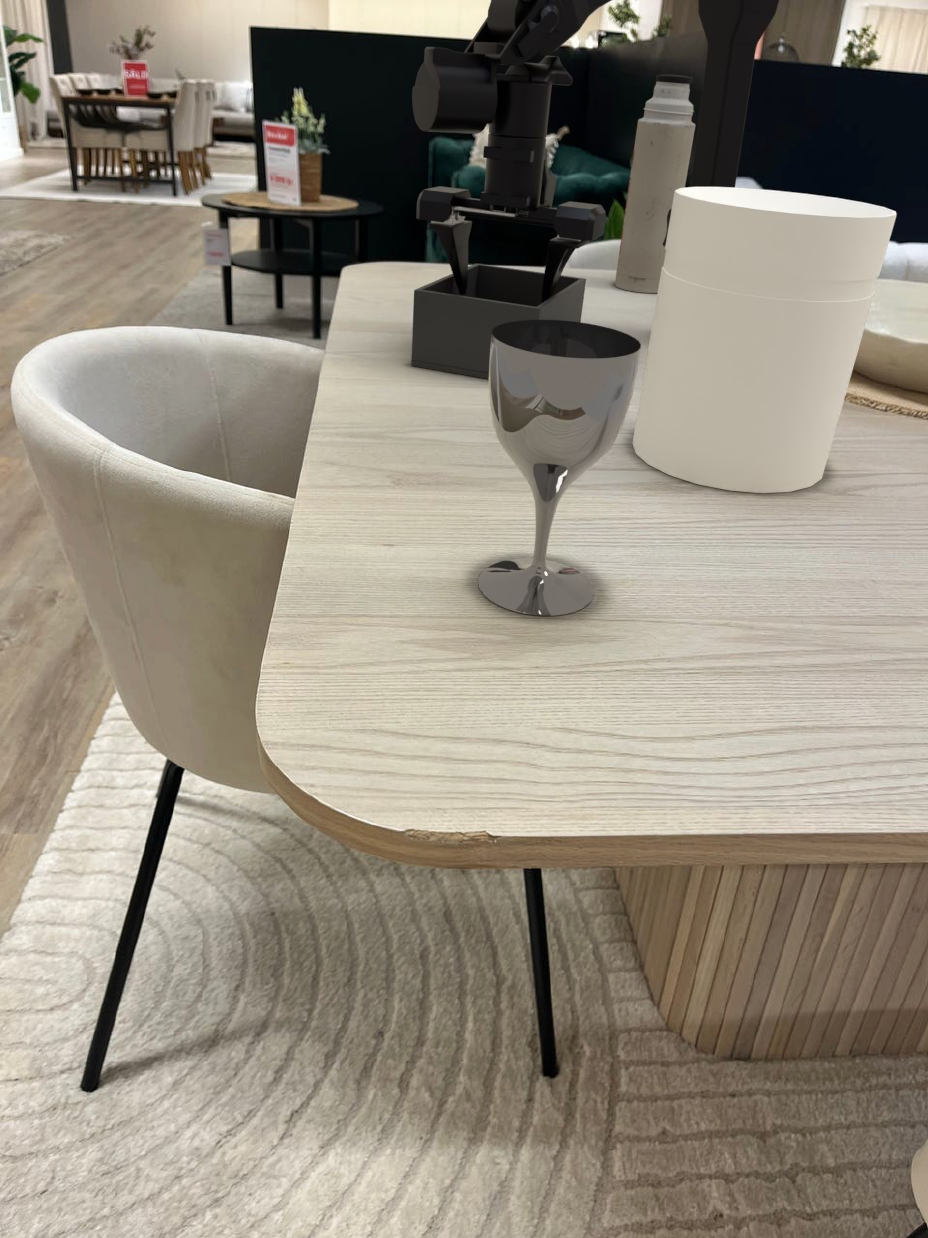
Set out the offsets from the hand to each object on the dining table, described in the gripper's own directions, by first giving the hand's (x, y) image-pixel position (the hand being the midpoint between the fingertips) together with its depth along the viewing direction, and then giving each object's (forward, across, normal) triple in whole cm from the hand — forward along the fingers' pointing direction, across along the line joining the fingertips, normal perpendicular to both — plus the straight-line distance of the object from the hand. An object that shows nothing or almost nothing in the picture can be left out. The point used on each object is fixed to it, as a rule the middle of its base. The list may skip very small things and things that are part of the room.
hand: (503, 300), depth 99 cm
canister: (+6, -27, +19) cm, 34 cm away
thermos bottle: (+6, -6, -50) cm, 51 cm away
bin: (+6, 0, 0) cm, 6 cm away
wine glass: (+6, -19, +49) cm, 53 cm away
